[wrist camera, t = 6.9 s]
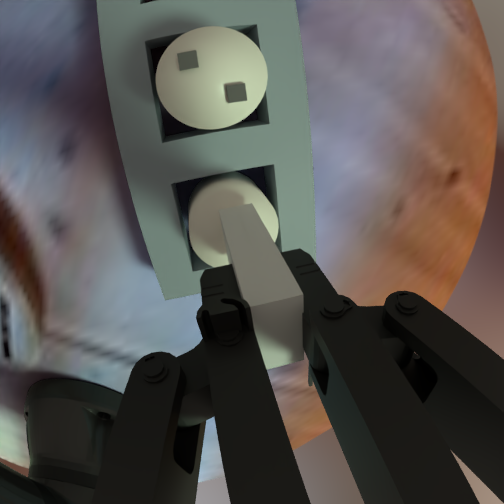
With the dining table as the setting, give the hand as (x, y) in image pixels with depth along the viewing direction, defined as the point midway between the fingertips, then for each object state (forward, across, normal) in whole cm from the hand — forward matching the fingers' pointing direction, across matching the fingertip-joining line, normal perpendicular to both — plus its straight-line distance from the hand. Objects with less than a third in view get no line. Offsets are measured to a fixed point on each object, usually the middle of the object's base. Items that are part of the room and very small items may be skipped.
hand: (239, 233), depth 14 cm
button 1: (+4, 0, 0) cm, 4 cm away
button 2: (+3, 0, +7) cm, 7 cm away
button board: (+4, 0, +7) cm, 8 cm away
